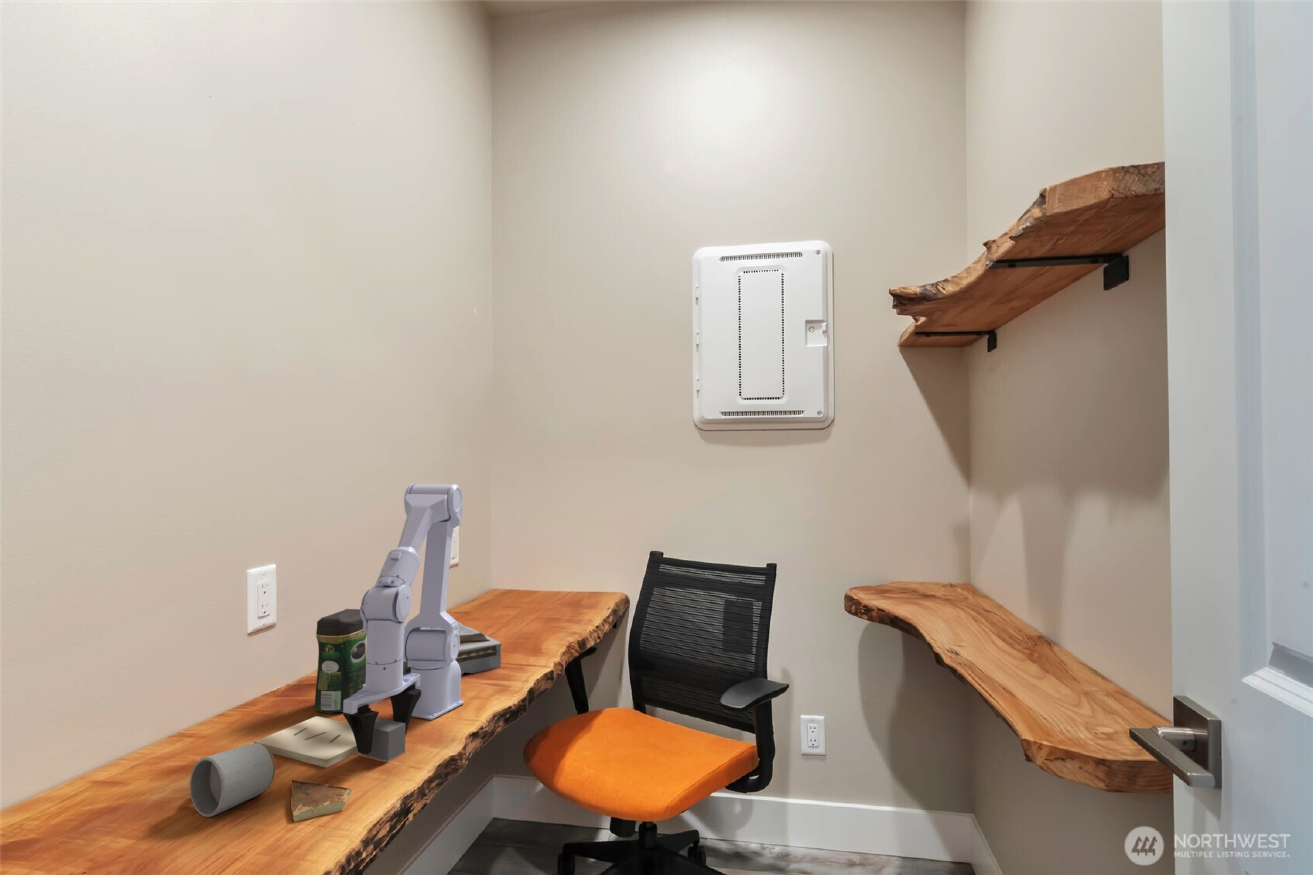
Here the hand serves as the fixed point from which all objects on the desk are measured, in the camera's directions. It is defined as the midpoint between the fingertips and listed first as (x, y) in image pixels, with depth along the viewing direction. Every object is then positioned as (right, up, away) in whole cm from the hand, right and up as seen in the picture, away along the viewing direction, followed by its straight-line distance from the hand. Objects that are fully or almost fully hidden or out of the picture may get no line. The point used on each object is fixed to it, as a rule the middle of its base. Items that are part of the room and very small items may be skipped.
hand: (382, 743), depth 106 cm
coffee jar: (-17, -3, +21) cm, 28 cm away
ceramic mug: (-16, -2, -15) cm, 22 cm away
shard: (-4, -2, -16) cm, 16 cm away
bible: (-7, -5, +45) cm, 46 cm away
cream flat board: (-12, -2, +4) cm, 13 cm away
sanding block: (0, -2, 0) cm, 2 cm away
